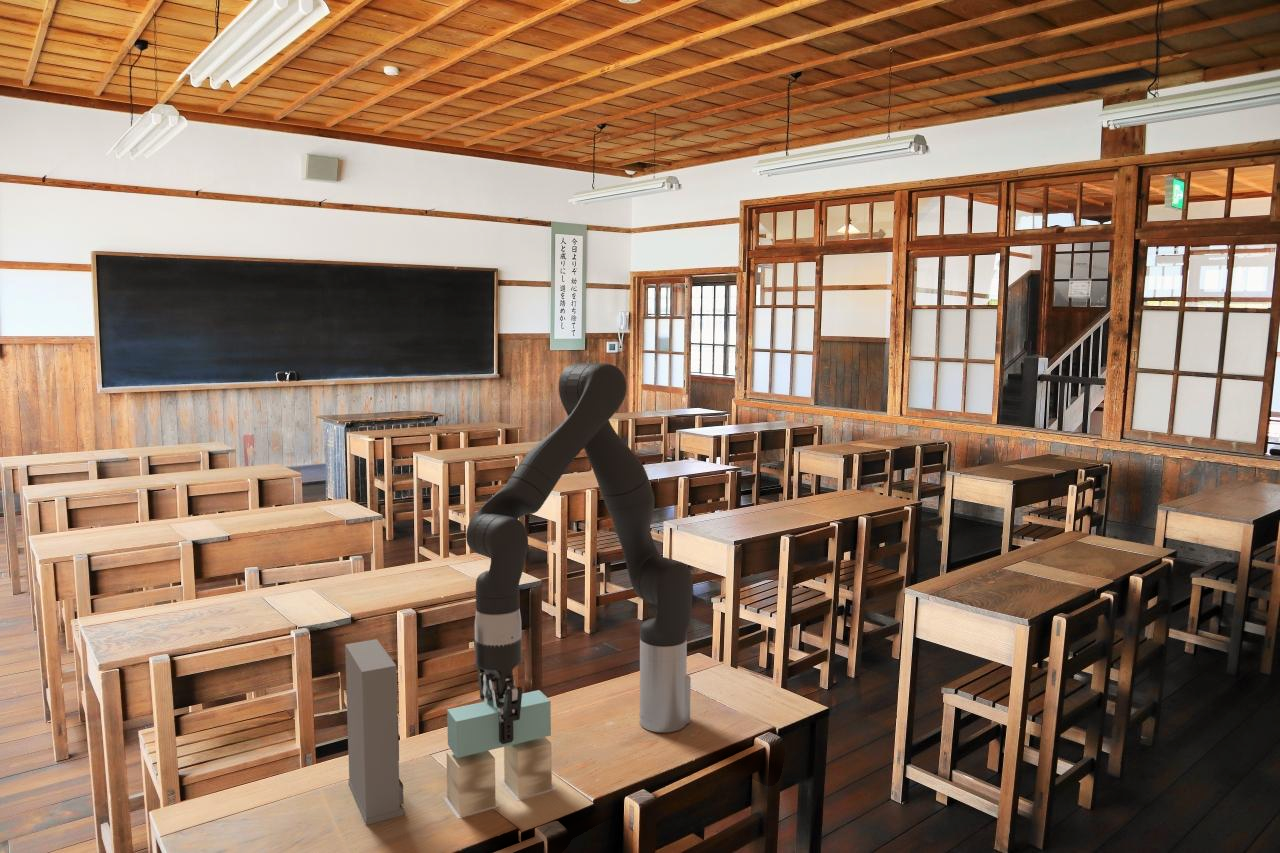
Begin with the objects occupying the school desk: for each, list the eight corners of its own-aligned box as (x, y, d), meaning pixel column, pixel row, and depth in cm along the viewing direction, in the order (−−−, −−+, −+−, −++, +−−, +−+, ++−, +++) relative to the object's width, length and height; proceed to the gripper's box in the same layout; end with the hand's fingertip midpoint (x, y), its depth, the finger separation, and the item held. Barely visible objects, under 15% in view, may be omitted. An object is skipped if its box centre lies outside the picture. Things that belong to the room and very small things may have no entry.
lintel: (539, 723, 144) (539, 690, 144) (550, 735, 140) (550, 700, 139) (447, 744, 137) (447, 709, 136) (456, 758, 132) (455, 721, 132)
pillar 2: (536, 773, 146) (536, 729, 145) (551, 788, 141) (551, 743, 140) (504, 782, 143) (503, 737, 142) (518, 798, 138) (518, 752, 137)
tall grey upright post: (405, 817, 133) (401, 665, 131) (365, 828, 130) (361, 672, 128) (385, 778, 145) (381, 638, 143) (348, 787, 142) (344, 644, 140)
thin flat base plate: (542, 768, 149) (542, 765, 149) (567, 793, 140) (567, 790, 140) (431, 799, 138) (431, 796, 138) (451, 829, 130) (451, 826, 130)
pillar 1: (482, 788, 141) (481, 743, 140) (495, 805, 136) (494, 758, 135) (447, 798, 138) (446, 751, 137) (459, 816, 132) (458, 767, 132)
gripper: (537, 644, 132) (538, 747, 134) (503, 619, 145) (504, 713, 146) (492, 653, 128) (494, 759, 130) (461, 626, 141) (462, 724, 142)
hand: (499, 734), depth 138 cm, fingers closed on lintel, 5 cm apart
